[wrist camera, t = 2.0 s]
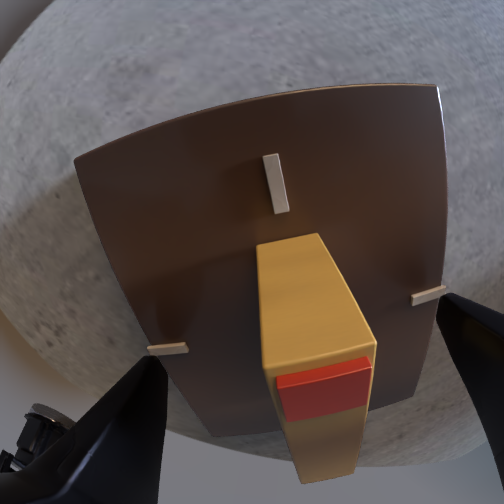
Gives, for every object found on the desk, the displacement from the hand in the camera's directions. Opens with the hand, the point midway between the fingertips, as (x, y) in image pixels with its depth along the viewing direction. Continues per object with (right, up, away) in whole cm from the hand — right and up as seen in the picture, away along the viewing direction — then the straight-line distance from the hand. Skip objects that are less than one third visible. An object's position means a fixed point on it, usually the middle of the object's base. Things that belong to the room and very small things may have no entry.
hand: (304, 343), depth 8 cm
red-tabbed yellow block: (0, 0, +1) cm, 1 cm away
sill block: (0, +2, +3) cm, 4 cm away
